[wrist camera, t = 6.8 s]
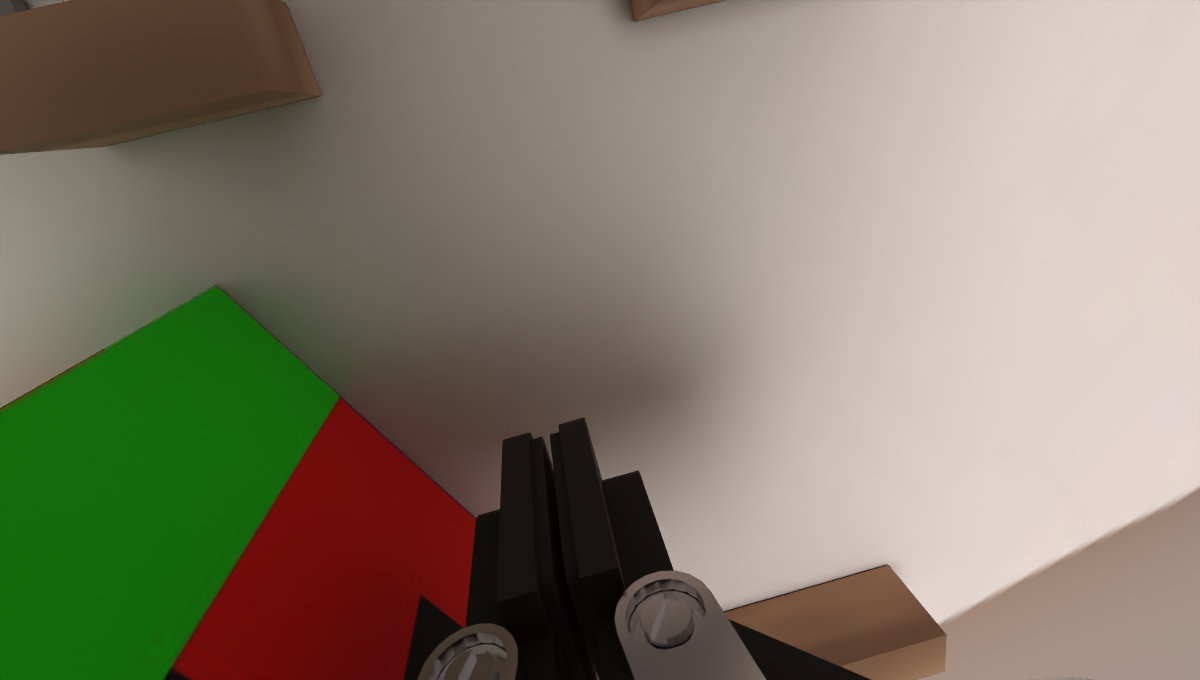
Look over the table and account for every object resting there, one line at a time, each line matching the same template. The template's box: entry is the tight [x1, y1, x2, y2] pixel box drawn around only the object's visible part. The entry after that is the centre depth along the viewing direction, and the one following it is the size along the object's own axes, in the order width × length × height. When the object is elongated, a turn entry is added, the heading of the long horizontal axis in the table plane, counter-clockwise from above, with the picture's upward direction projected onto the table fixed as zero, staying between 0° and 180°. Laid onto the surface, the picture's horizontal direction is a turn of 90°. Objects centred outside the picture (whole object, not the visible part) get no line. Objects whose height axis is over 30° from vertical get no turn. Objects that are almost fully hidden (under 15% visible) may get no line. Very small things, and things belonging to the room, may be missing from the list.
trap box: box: [0, 0, 946, 680], centre depth 11 cm, size 19×26×4 cm
